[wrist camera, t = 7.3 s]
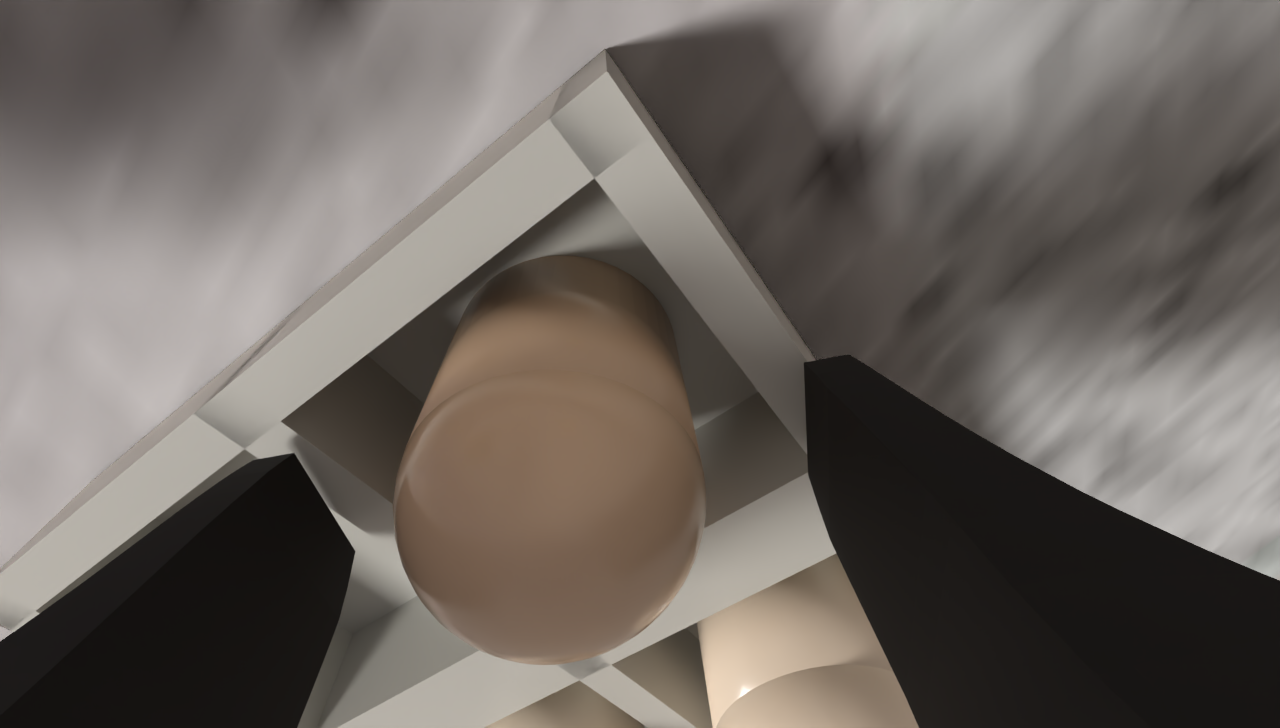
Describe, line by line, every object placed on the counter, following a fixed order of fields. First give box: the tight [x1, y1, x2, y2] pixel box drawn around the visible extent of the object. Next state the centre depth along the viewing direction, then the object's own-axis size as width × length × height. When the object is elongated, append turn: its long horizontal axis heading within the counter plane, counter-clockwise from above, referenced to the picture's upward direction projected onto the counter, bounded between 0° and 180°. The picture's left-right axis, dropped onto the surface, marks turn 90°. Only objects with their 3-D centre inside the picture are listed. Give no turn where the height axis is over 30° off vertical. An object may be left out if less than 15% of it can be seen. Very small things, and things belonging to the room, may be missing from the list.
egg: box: [393, 255, 706, 665], centre depth 9 cm, size 4×4×6 cm
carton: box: [0, 49, 836, 728], centre depth 13 cm, size 15×14×3 cm
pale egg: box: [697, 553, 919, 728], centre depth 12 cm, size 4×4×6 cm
